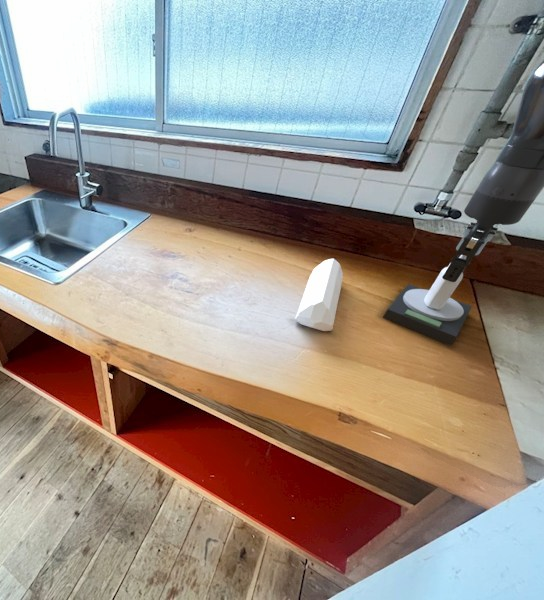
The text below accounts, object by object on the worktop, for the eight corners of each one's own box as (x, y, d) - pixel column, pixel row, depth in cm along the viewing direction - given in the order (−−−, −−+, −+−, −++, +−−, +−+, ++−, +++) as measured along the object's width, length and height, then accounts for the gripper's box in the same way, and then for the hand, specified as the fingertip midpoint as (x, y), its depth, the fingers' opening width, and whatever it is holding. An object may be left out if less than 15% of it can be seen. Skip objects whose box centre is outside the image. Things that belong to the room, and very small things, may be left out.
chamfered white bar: (346, 328, 63) (355, 270, 79) (317, 304, 64) (332, 252, 80) (316, 344, 69) (330, 287, 85) (290, 322, 69) (309, 270, 85)
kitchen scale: (466, 314, 71) (474, 303, 69) (449, 345, 64) (458, 333, 62) (403, 291, 79) (409, 280, 77) (382, 317, 71) (389, 306, 69)
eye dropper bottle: (452, 305, 69) (486, 256, 62) (435, 312, 67) (468, 262, 60) (431, 294, 72) (461, 246, 65) (414, 300, 71) (443, 252, 63)
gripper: (531, 208, 49) (467, 296, 59) (542, 186, 56) (483, 268, 67) (468, 196, 54) (419, 280, 64) (486, 177, 61) (439, 255, 71)
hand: (452, 273), depth 65 cm, fingers closed on eye dropper bottle, 5 cm apart
